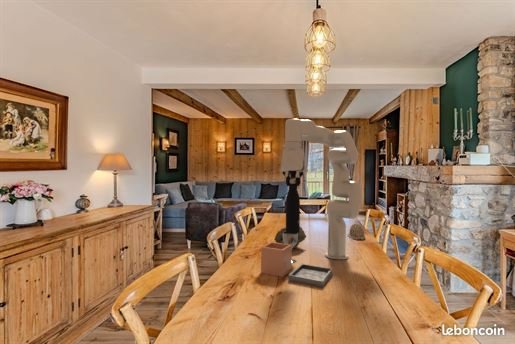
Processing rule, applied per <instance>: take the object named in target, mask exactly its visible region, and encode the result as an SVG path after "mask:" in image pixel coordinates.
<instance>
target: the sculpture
mask: <svg viewBox="0 0 515 344" xmlns="http://www.w3.org/2000/svg"><path fill="white" fill-rule="evenodd" d="M365 235H366V234H365V229H364V227H363V226H362V224H360V223H353V224H352V225H350V227H349V232H348V233H347V237H349V239H350V238H353V239H352V240H357V239H361V240H364V238H365V239H366V236H365Z"/></svg>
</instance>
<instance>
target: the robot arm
mask: <svg viewBox="0 0 515 344" xmlns="http://www.w3.org/2000/svg"><path fill="white" fill-rule="evenodd" d="M284 125H285V131H284V132H285V134H284V135H285V136H284V137H285V138H284V139H285V142H284V143H283V144H282V147H284V149H283V151H282V156H281V162H280V163H281V165H280V167H279V170H278V171H279V172H280V173H281V174H283V176H284V178H285V185H286V187H289V183H290V181H289V180H290V179H292V178H290V174H289V171H296V178H295V179H296V186H297V187H300V185H301V178H302V177H303V175H305V174H306V173H307V172H309V171H308V170H309V169H308V168H307V166H306V162H305V153H304V148H302V147H303V145H302V144H303V142H302V141H304V142H311V143H317V144H320V145H324V146H326V147H329V148H332V149H329V150H328V151H327V159H328V161H329V163H330V165H331V166H332V167H331V168H332V169H333V176H332V178H333V179H332V186H331V194H332V195H333V196H334V197H336V198H340V199H331V200H329V201H328V203H326V214H327V220H328V222H327V224H328V225H327V227H328V229H327V251H326V252H324V257H326V258H328V259H332V260H341V261H342V260H347V259H349V254H348V253H346V251H347V250H346V248H347V247H346V244H347V238H346V237H347V225H346V221H345V220H344V219H349V220H354V219H357V218H358V216H359V214H360V208H361V207H360V206H361V199H362V185H361V184H360V183H359V182H357V181H355V180H350V170H349V168H348V166H347V165H348V164H349V165H352V164H356V163H357V162H358V160H359V152H358V149H357V146H356V143H355V141H354V139H353V136H352V135H351V133H350V131H348V130H332V129H329V128H328V127H327V128H326V126H325V127H324V126H320V125H316V123H315V122H314V121H313V120H310V119H299V118H289V119H286V121H285V123H284ZM346 164H347V165H346ZM341 198H342V199H341ZM345 199H348V200H345Z"/></svg>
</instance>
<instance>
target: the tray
mask: <svg viewBox="0 0 515 344" xmlns="http://www.w3.org/2000/svg"><path fill="white" fill-rule="evenodd" d="M332 275H333V268H331V267H326V266H325V267H324V266H317V265H311V264H307V263H306V264H305V263H301V264H299V266H298V267H296V268H295V269H293V271H291V272H290V273H289V274H288V276H287V277H288V279H287V280H288V282H290V283H291V282H292V283H297V284H302V285H307V286H312V287H319V288H324V286H326V284H327V282H328V281H329V280H330V278H331V277H332Z"/></svg>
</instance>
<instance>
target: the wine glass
mask: <svg viewBox="0 0 515 344" xmlns="http://www.w3.org/2000/svg"><path fill="white" fill-rule="evenodd" d="M297 239H298V233H288V232H286V231H284V232H283V241H284V244H289V245H292V249H294V248H293V247H294V246H295V245H296V243H297ZM296 263H297V260H296V259H294V258H292V263H291V264H296Z"/></svg>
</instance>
